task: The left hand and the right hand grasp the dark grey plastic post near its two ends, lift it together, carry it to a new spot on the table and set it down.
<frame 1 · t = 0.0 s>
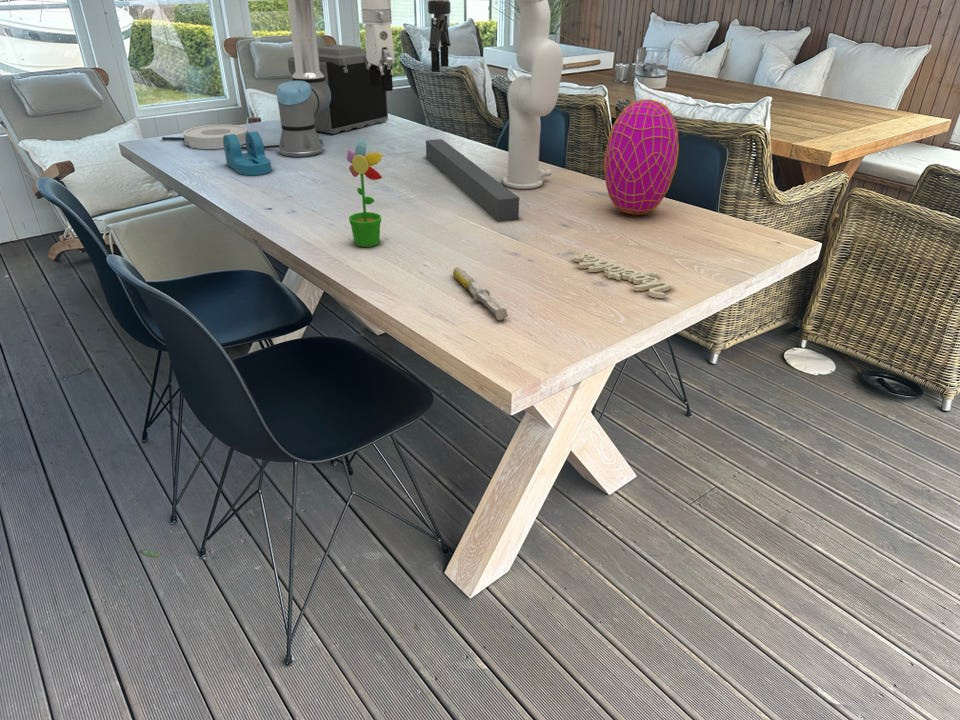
left hand: (440, 69, 239), 28 cm above the table, tool pointing down, fingers open, 13 cm apart
right hand: (380, 88, 185), 31 cm above the table, tool pointing down, fingers open, 9 cm apart
electronic device: (343, 125, 289), on the table
potted flower: (366, 243, 171), on the table
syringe: (478, 297, 145), on the table
decorative sign: (623, 275, 156), on the table
post: (466, 184, 216), on the table
camera mount: (251, 168, 229), on the table
decorative egg: (633, 213, 194), on the table
ashtray: (217, 142, 261), on the table
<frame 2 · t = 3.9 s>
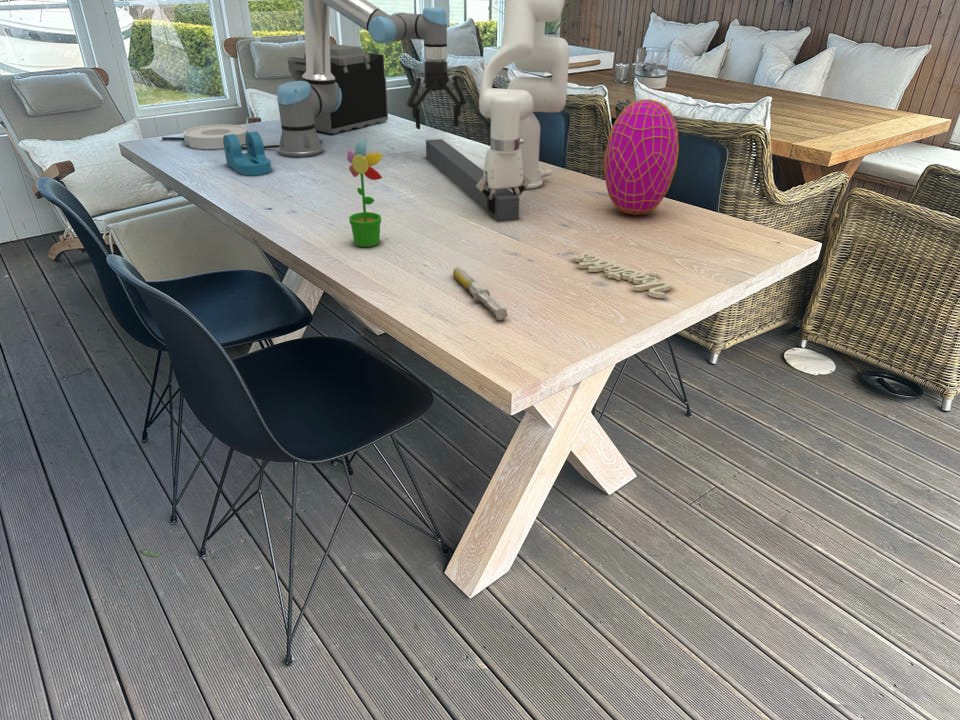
left hand: (437, 127, 236), 11 cm above the table, tool pointing down, fingers open, 13 cm apart
right hand: (502, 210, 190), 1 cm above the table, tool pointing down, fingers closed on post, 6 cm apart
post: (466, 184, 216), on the table, touching right hand
everything else where it was.
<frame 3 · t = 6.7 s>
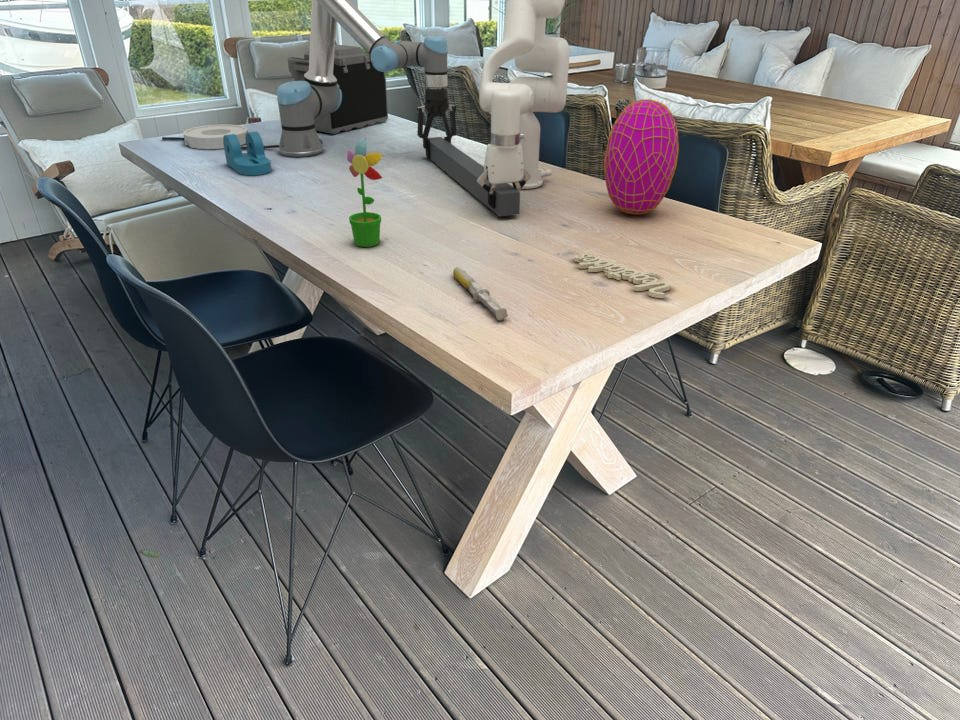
left hand: (437, 157, 241), 1 cm above the table, tool pointing down, fingers closed on post, 6 cm apart
right hand: (503, 205, 190), 3 cm above the table, tool pointing down, fingers closed on post, 6 cm apart
post: (466, 181, 216), point 1 cm above the table, touching right hand, left hand
everything else where it was.
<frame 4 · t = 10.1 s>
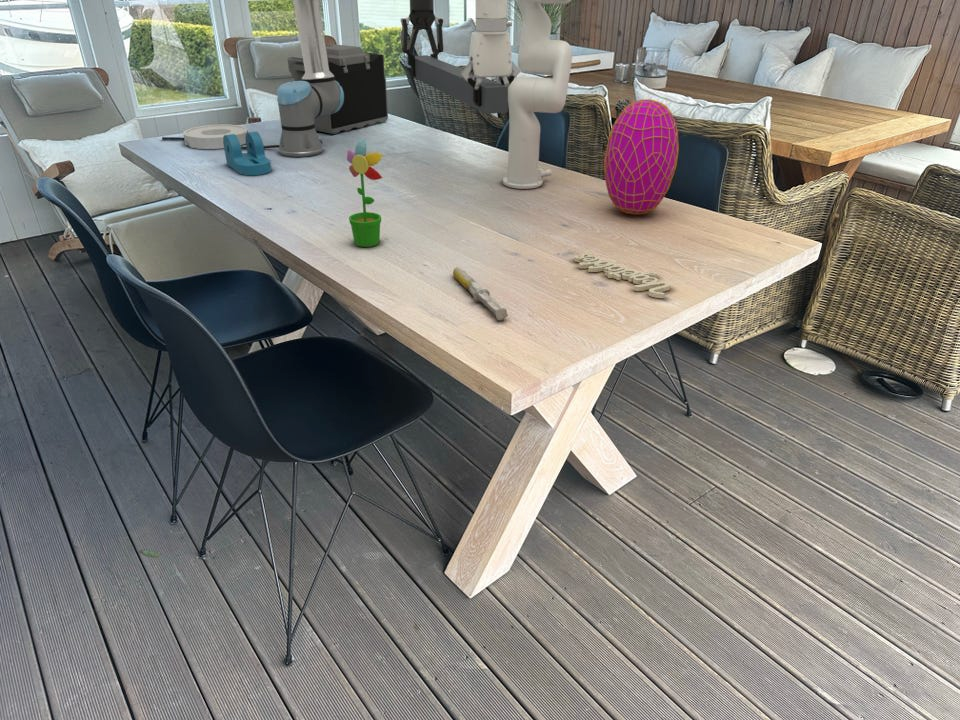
left hand: (422, 75, 226), 28 cm above the table, tool pointing down, fingers closed on post, 6 cm apart
right hand: (490, 103, 175), 30 cm above the table, tool pointing down, fingers closed on post, 6 cm apart
post: (452, 91, 201), point 28 cm above the table, touching right hand, left hand
everything else where it was.
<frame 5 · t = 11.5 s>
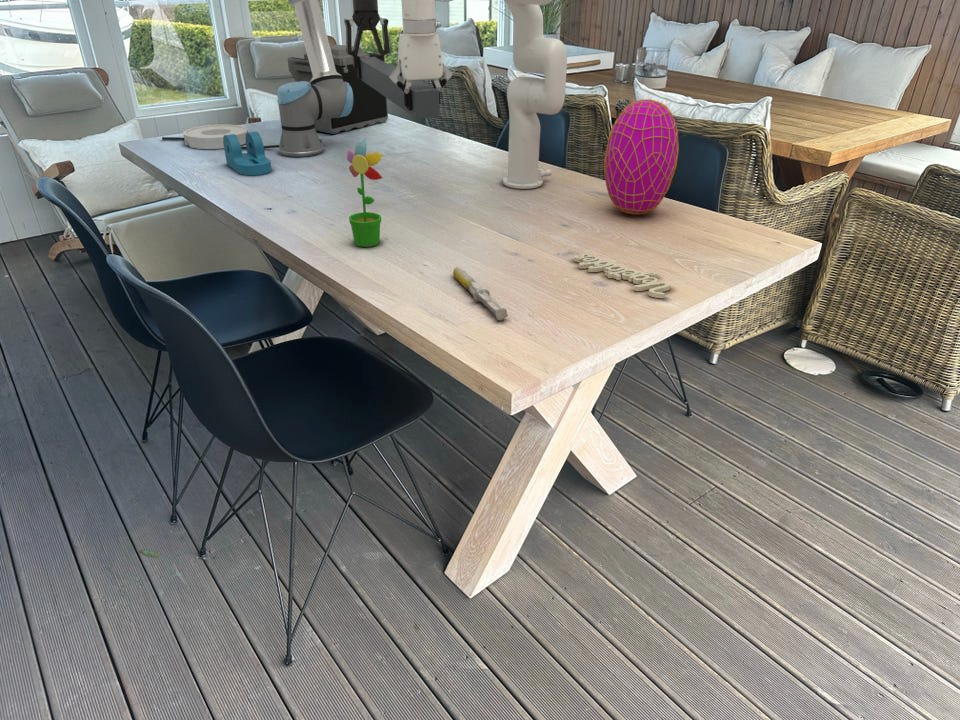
left hand: (369, 77, 220), 28 cm above the table, tool pointing down, fingers closed on post, 6 cm apart
right hand: (422, 107, 169), 30 cm above the table, tool pointing down, fingers closed on post, 6 cm apart
post: (393, 94, 195), point 28 cm above the table, touching right hand, left hand
everything else where it was.
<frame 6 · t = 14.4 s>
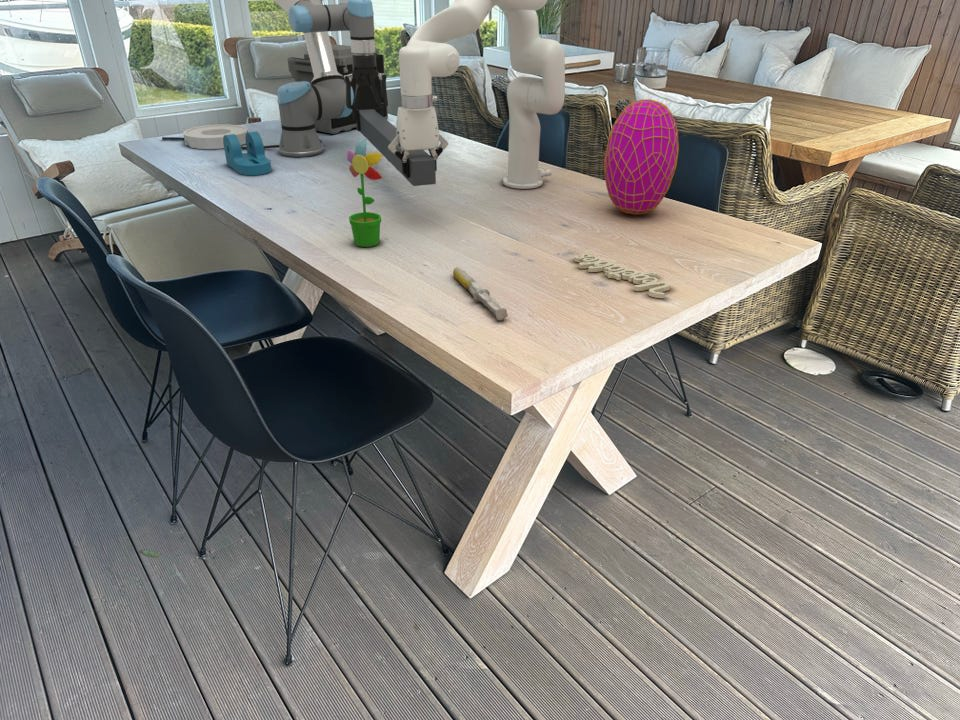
left hand: (368, 129, 228), 12 cm above the table, tool pointing down, fingers closed on post, 6 cm apart
right hand: (419, 174, 176), 14 cm above the table, tool pointing down, fingers closed on post, 6 cm apart
post: (391, 152, 202), point 12 cm above the table, touching right hand, left hand
everything else where it was.
when the left hand's fingers open (1 cm above the table, at t = 16.6 s): post stays where it is, on the table.
when the right hand's fingers open (2 cm above the table, at t = 16.8 s): post stays where it is, on the table.
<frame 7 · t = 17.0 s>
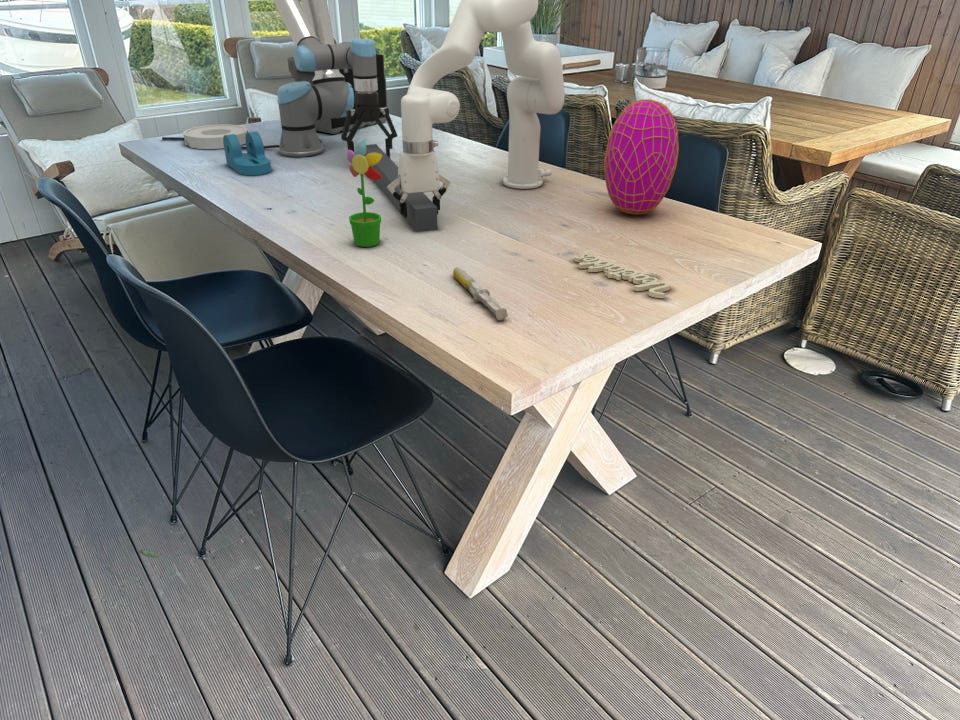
left hand: (371, 160, 233), 2 cm above the table, tool pointing down, fingers open, 11 cm apart
right hand: (420, 214, 181), 3 cm above the table, tool pointing down, fingers open, 8 cm apart
post: (393, 192, 208), on the table
everything else where it was.
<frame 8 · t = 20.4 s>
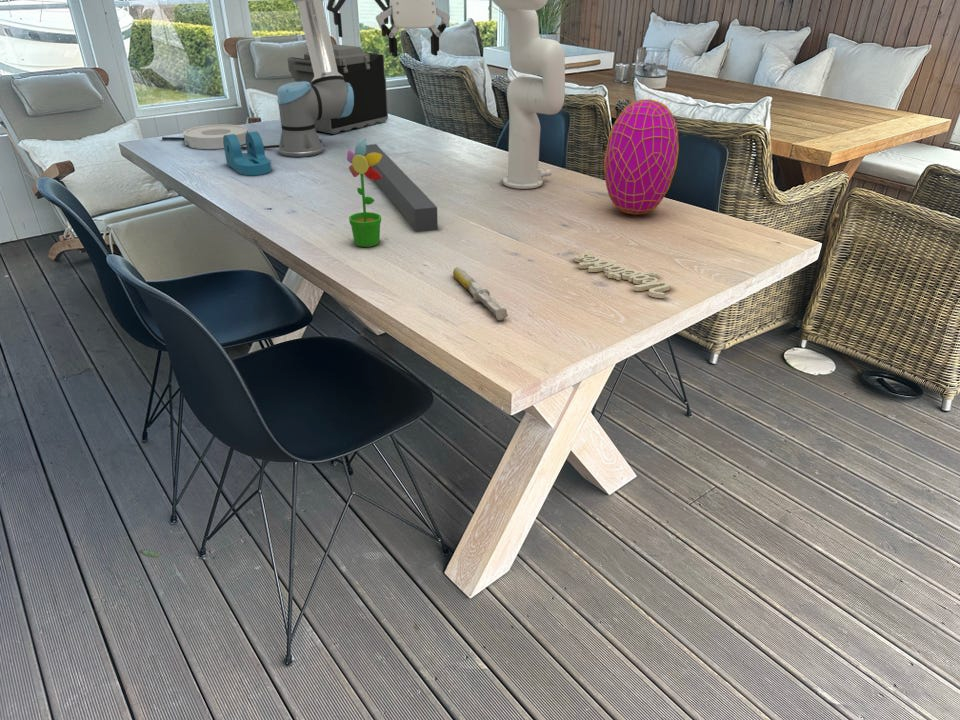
left hand: (362, 36, 213), 40 cm above the table, tool pointing down, fingers open, 13 cm apart
right hand: (414, 55, 162), 42 cm above the table, tool pointing down, fingers open, 9 cm apart
nothing on the table moved.
at the end: post inside the target area (0.3 cm from its centre), on the table; post tilted 0°; post never tilted more than 1° during the clip; both hands held the post at the same time; the left hand is holding nothing; the right hand is holding nothing; post at rest at the end (0.0 cm/s) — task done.
